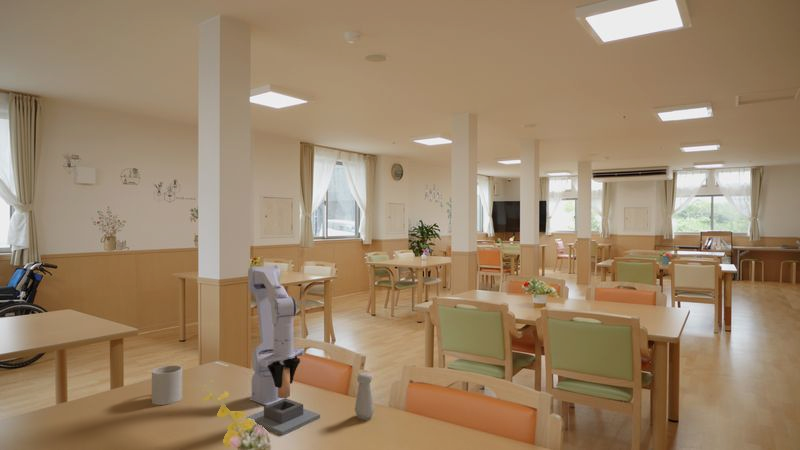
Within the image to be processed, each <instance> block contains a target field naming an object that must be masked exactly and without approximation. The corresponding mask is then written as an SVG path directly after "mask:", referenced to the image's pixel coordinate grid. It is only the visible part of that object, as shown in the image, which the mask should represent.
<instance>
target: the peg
mask: <svg viewBox="0 0 800 450" xmlns="http://www.w3.org/2000/svg"><path fill="white" fill-rule="evenodd" d="M290 396H291V384H290V368H289V367H284V369H283V374H282V386H281V388H278V398H286V399H288V398H289V397H290Z"/></svg>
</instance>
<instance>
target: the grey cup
mask: <svg viewBox="0 0 800 450" xmlns="http://www.w3.org/2000/svg"><path fill="white" fill-rule="evenodd" d="M182 399H183V367H182V366H181V365H176V364H175V365H173V364H172V365H164V366H160V367H157V368H154V369H153V370H152V371H151V403H152V405H155V406H165V405H172V404H175V403H177V402H179V401H181V400H182Z"/></svg>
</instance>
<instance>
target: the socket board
mask: <svg viewBox="0 0 800 450" xmlns="http://www.w3.org/2000/svg"><path fill="white" fill-rule="evenodd" d="M247 418H251V419H254V420H255V422H256V423H257V424H259V425H262V426H263V427H265V428H264V429H265V430H269V431H271V432H273V433H275V432H276V434H279V435H280V434H281V435H280V436H285V435H286V434H288V433H289V434H290V433H291V432H293V431H295V430H298V429H299V428H301V427H303V426H306V425H308V424H310V423H312V422H314V421H316V420H318V419H320V418H321V413H317V412H315V411H312V410H309V409H306V408H304V404H303V403H301V402H299V401H295V400H291V399H290V398H289V399H288V398H285V399H282V400H280V401H277V402H275V403H272V404H270V405H267V406H266V405H264V406H263V410H260V411H259V412H258V411H257V412H256V413H253V414H251V415H249V416H246V419H247ZM263 427H262V428H263Z"/></svg>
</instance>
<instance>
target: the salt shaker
mask: <svg viewBox="0 0 800 450" xmlns="http://www.w3.org/2000/svg"><path fill="white" fill-rule="evenodd" d="M372 380H373V375H372V374H371V372H367V371H366V372H365V371H364V372H359V374H358V375H357V382H358V387H357V388H358V389H357V394H356V400H355V405H354V406H355V407H354V412H355V414H356V417H357V418H358V419H359V420H360V421H368V420H370V419H372V417H373V414H374V412H375V406H374V405H375V404H374V399H373V395H372V394H373V393H372V388H371V383H372Z"/></svg>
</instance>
